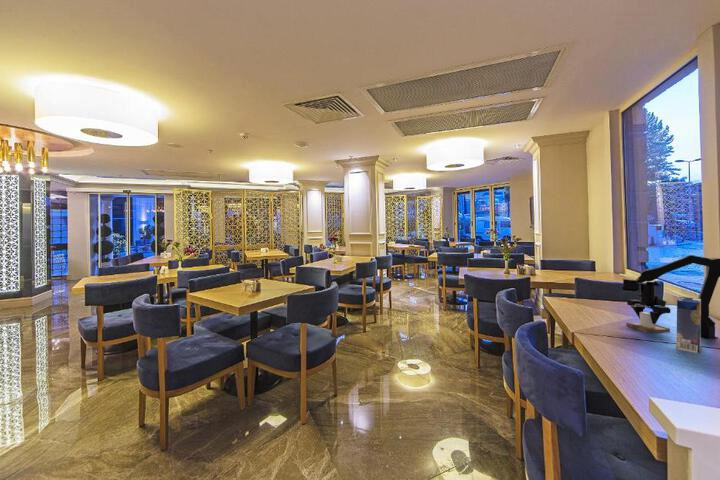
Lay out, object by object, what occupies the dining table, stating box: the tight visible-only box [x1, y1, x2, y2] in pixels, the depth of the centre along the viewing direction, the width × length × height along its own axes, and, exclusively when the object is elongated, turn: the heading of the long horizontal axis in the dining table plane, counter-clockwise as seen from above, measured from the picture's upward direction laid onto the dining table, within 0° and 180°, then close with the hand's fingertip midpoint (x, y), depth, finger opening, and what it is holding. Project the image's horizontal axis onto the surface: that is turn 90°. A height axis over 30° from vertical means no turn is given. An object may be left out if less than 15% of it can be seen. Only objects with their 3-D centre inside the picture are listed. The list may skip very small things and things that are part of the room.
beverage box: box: [675, 296, 702, 354], centre depth 137 cm, size 7×11×22 cm, turn 130°
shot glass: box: [639, 311, 655, 328], centre depth 163 cm, size 7×7×7 cm
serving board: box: [625, 321, 671, 333], centre depth 163 cm, size 12×12×2 cm
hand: (647, 321), depth 163 cm, fingers open, 7 cm apart
